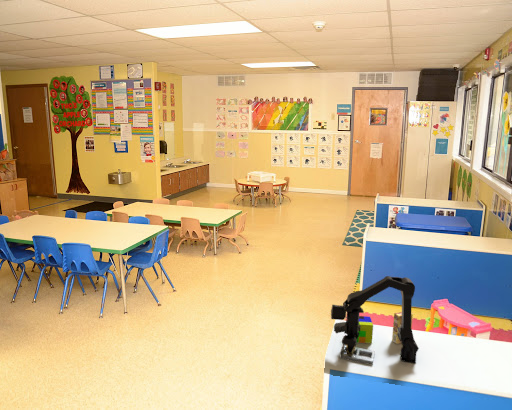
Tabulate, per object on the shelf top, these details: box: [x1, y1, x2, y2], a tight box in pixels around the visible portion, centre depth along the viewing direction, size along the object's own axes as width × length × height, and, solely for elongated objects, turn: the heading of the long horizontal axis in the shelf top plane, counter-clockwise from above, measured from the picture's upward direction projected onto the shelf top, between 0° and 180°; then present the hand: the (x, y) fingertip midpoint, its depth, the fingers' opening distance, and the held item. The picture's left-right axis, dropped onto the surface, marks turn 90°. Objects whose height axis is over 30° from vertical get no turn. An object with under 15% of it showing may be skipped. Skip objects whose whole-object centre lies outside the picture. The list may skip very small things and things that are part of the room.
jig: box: [339, 344, 376, 366], centre depth 205 cm, size 15×10×4 cm, turn 69°
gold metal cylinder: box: [345, 345, 356, 355], centre depth 205 cm, size 4×4×6 cm
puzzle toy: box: [357, 315, 374, 344], centre depth 222 cm, size 10×10×10 cm
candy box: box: [391, 311, 414, 345], centre depth 219 cm, size 9×4×15 cm, turn 112°
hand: (350, 350), depth 206 cm, fingers closed on gold metal cylinder, 4 cm apart
